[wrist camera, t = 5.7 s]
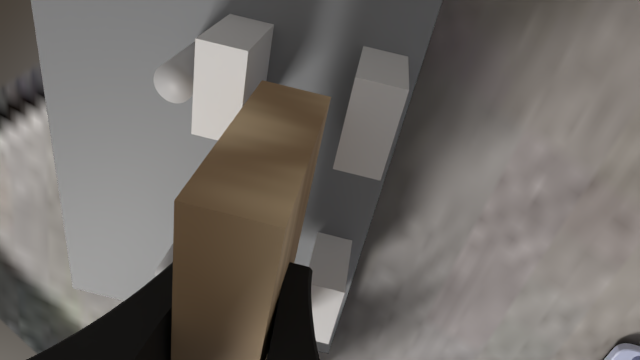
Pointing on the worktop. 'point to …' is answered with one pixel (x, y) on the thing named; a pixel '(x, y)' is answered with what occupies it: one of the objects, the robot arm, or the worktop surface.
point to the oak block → (243, 225)
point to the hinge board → (218, 120)
